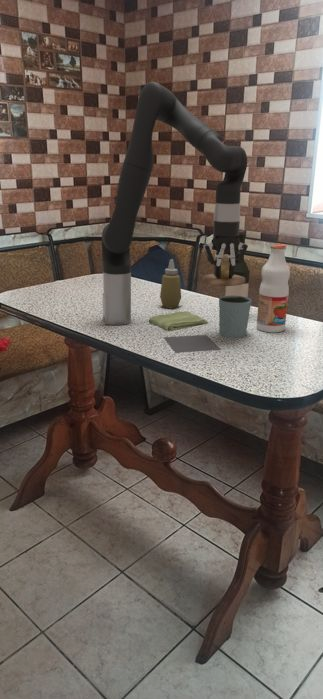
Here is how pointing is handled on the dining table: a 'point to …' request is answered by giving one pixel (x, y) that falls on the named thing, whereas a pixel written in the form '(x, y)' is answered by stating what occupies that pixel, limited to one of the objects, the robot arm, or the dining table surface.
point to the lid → (223, 277)
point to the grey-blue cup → (233, 316)
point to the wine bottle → (240, 274)
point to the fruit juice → (274, 291)
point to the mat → (191, 343)
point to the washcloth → (177, 320)
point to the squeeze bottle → (170, 287)
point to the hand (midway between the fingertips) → (223, 277)
